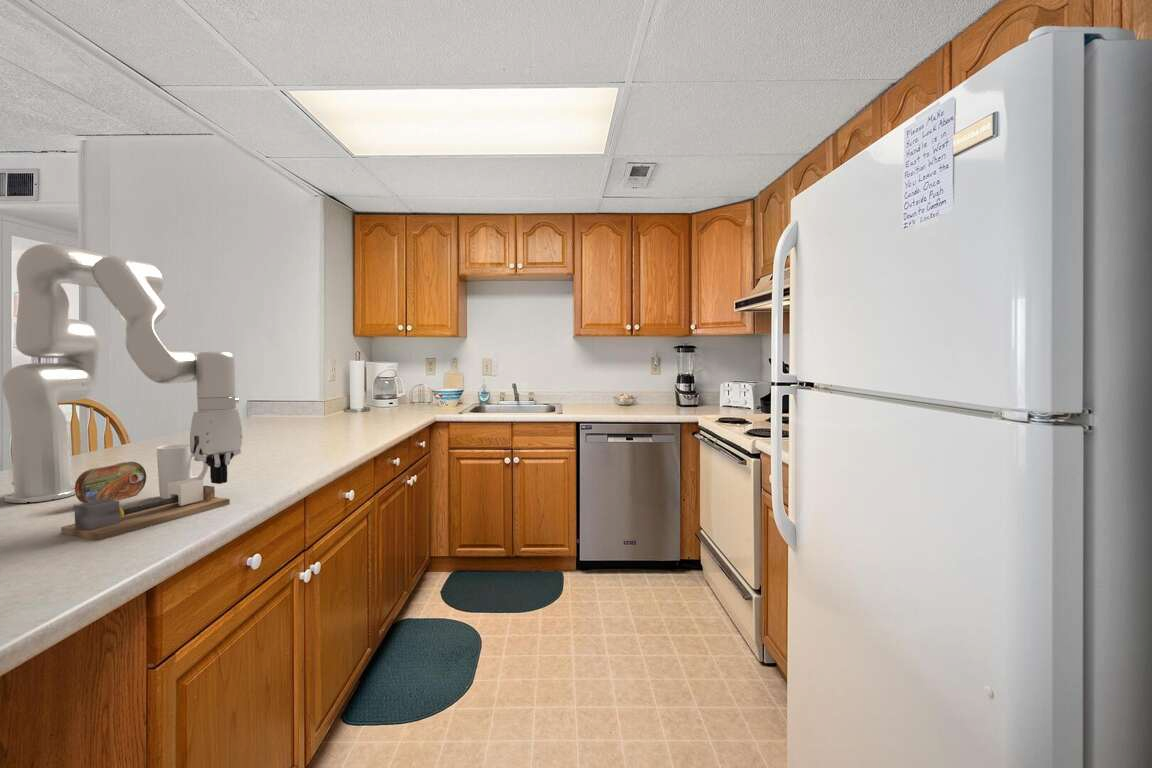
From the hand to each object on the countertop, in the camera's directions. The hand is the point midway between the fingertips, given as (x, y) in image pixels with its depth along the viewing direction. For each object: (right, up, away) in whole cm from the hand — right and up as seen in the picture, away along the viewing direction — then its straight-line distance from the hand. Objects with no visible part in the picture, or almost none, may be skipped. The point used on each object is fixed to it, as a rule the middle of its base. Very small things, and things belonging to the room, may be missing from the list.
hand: (219, 482), depth 130 cm
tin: (-25, -4, 0) cm, 25 cm away
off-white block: (-3, -3, -7) cm, 8 cm away
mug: (-11, -4, +4) cm, 13 cm away
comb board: (-5, -5, -14) cm, 15 cm away
